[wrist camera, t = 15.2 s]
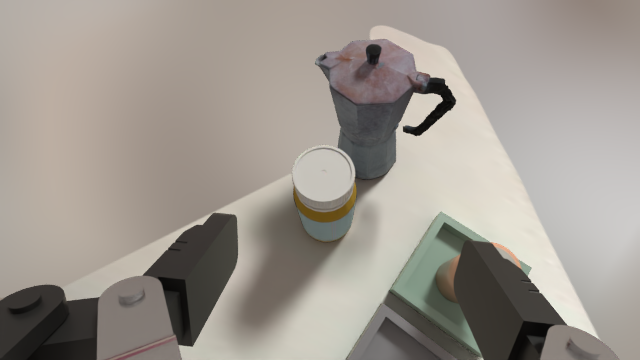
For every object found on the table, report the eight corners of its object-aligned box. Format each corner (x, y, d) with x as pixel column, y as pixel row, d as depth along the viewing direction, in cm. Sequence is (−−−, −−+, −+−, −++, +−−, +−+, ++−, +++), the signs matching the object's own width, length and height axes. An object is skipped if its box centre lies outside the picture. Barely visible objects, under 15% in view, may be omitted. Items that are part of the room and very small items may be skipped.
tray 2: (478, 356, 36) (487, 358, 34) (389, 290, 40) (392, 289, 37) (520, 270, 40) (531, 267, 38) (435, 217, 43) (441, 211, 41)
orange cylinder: (466, 313, 38) (509, 310, 28) (427, 285, 39) (456, 274, 30) (485, 277, 39) (532, 263, 30) (447, 252, 41) (481, 231, 31)
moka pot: (329, 117, 51) (326, 3, 33) (424, 140, 48) (479, 30, 30) (310, 167, 47) (295, 71, 29) (412, 195, 45) (466, 108, 26)
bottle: (359, 233, 43) (370, 192, 29) (310, 250, 42) (299, 216, 28) (342, 189, 46) (345, 132, 32) (296, 203, 45) (279, 152, 31)
